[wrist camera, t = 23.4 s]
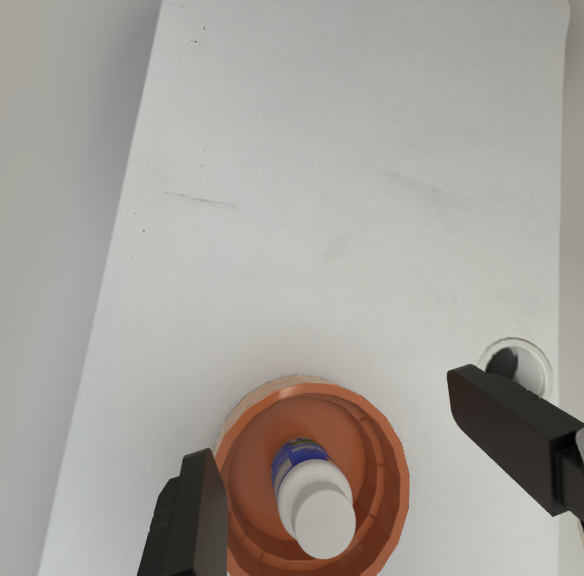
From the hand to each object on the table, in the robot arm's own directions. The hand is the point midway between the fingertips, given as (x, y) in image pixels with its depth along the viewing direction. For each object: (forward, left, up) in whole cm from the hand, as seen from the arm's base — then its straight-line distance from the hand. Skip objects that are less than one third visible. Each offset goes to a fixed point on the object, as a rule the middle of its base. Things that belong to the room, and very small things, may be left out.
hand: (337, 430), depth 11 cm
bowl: (-2, -9, -21) cm, 23 cm away
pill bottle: (-2, -9, -21) cm, 23 cm away
